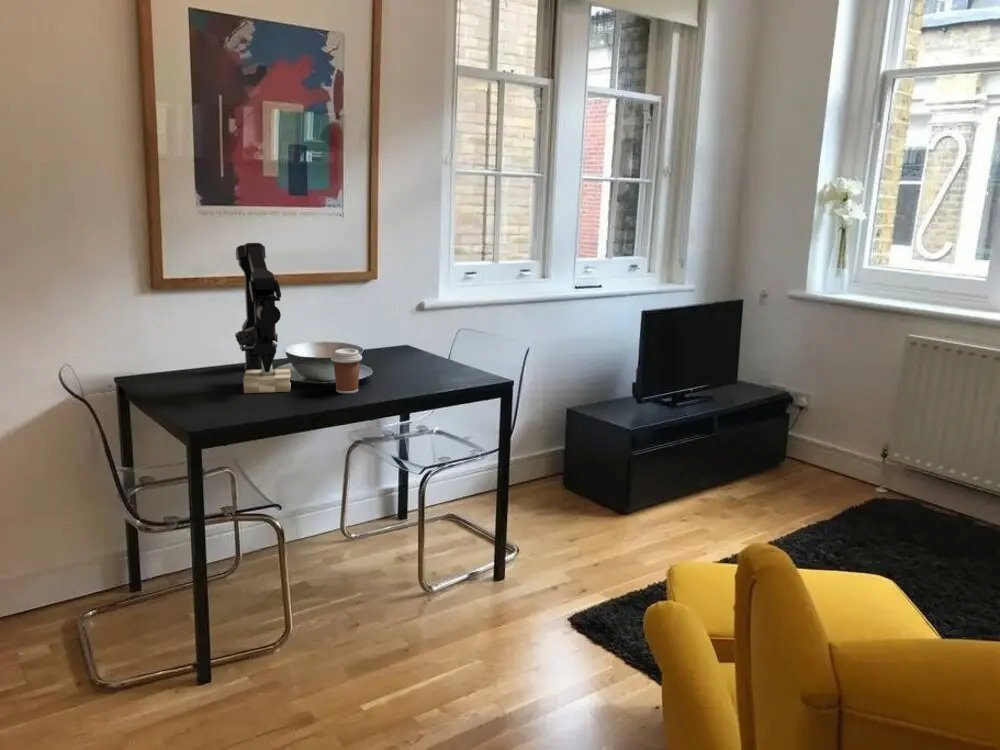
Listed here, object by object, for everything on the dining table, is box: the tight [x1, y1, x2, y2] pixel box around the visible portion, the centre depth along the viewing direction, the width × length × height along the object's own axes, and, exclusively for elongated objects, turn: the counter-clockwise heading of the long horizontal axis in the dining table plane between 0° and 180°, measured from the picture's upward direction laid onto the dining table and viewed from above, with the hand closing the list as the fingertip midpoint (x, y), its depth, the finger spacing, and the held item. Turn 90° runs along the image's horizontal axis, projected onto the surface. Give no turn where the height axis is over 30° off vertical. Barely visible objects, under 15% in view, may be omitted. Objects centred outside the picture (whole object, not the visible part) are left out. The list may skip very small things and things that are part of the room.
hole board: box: [242, 368, 292, 394], centre depth 250 cm, size 12×13×4 cm
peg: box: [261, 359, 273, 376], centre depth 249 cm, size 3×3×9 cm
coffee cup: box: [330, 348, 363, 394], centre depth 248 cm, size 9×9×12 cm
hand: (267, 370), depth 249 cm, fingers closed on peg, 3 cm apart
